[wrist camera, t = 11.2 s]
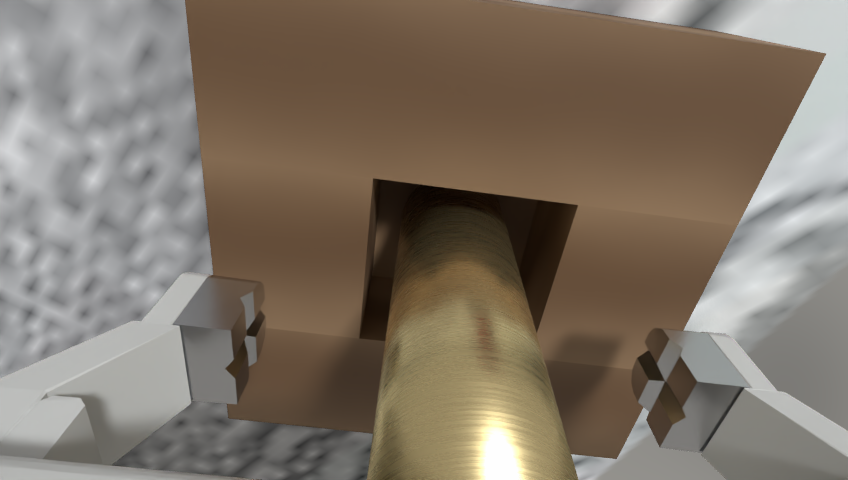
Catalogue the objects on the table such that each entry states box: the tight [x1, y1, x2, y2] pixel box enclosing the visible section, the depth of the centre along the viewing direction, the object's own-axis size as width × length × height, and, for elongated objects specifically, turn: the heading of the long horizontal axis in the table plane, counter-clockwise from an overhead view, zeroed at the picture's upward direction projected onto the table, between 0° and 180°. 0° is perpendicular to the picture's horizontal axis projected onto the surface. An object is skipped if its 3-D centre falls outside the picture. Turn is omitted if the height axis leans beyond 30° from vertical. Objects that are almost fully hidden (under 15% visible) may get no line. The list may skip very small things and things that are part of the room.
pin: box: [367, 185, 578, 480], centre depth 10 cm, size 3×3×10 cm
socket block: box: [185, 0, 826, 459], centre depth 13 cm, size 12×12×4 cm
